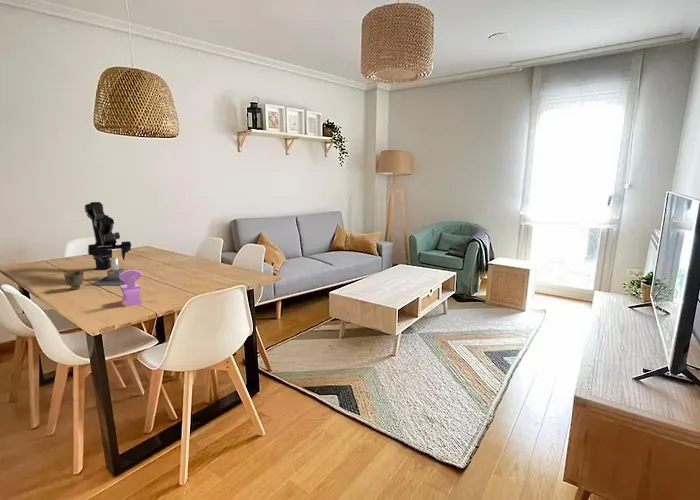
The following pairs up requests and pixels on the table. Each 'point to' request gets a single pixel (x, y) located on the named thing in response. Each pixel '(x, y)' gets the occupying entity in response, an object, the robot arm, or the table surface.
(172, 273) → the table surface
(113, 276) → the stand
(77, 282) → the cup
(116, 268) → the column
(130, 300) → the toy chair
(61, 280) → the table surface
